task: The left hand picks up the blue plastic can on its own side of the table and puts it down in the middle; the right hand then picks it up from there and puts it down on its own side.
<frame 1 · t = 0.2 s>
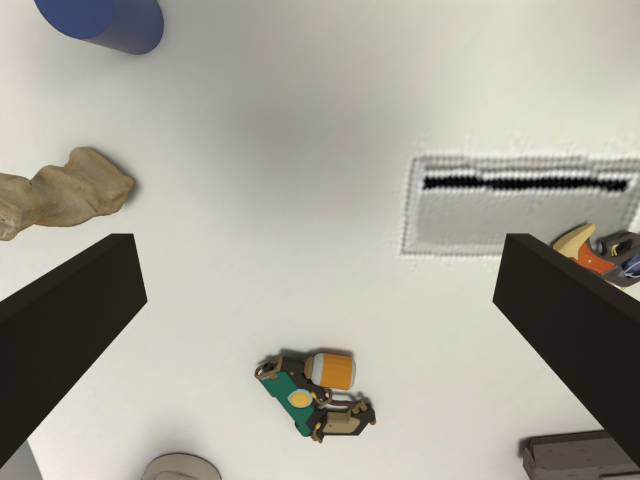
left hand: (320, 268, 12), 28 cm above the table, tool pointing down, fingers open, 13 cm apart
bust sculpture: (178, 462, 56), on the table
toy: (591, 472, 57), on the table
toy gun: (633, 234, 41), on the table
sculpture: (108, 177, 39), on the table
can: (131, 18, 33), on the table
spray gun: (318, 388, 50), on the table
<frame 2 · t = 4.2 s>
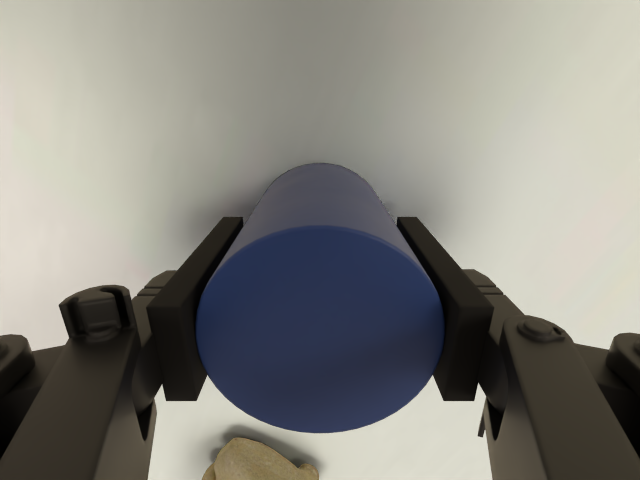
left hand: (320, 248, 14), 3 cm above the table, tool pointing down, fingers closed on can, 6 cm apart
sculpture: (268, 460, 22), on the table
can: (320, 227, 16), on the table, touching left hand
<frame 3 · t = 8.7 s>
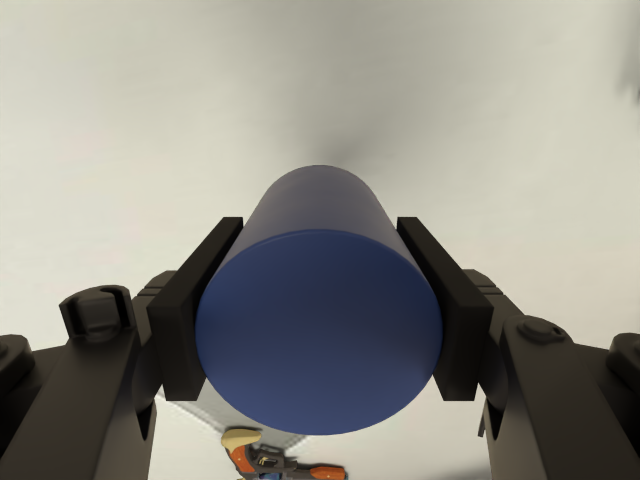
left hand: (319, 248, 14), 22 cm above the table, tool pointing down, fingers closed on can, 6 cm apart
toy gun: (287, 455, 50), on the table
can: (319, 229, 16), point 19 cm above the table, touching left hand
when the left hand's fingers open (4 cm above the table, at t = 13.5 s): can drops 2 cm, on the table.
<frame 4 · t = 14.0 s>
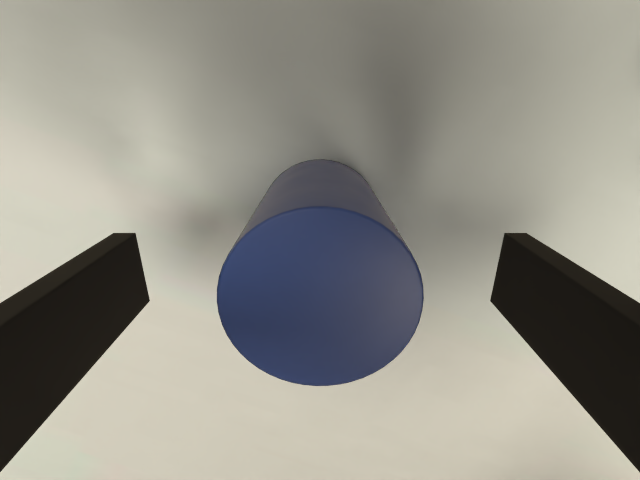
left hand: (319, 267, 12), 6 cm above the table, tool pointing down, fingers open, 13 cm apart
can: (320, 218, 18), on the table
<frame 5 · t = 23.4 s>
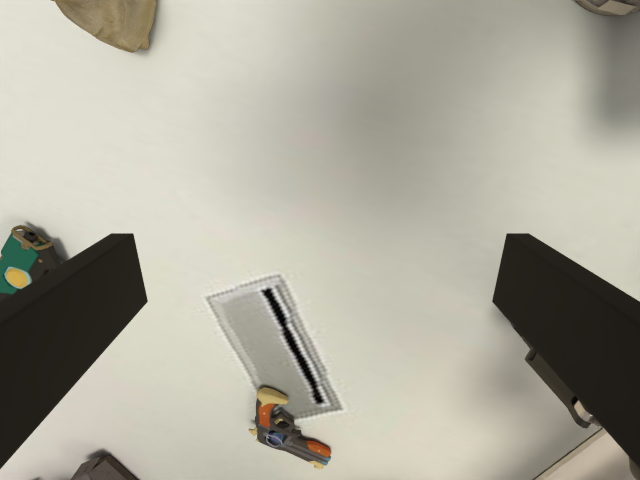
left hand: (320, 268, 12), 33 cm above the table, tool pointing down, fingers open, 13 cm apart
toy gun: (294, 424, 60), on the table
sculpture: (138, 17, 37), on the table
spray gun: (39, 285, 50), on the table
tablet stand: (590, 479, 65), on the table
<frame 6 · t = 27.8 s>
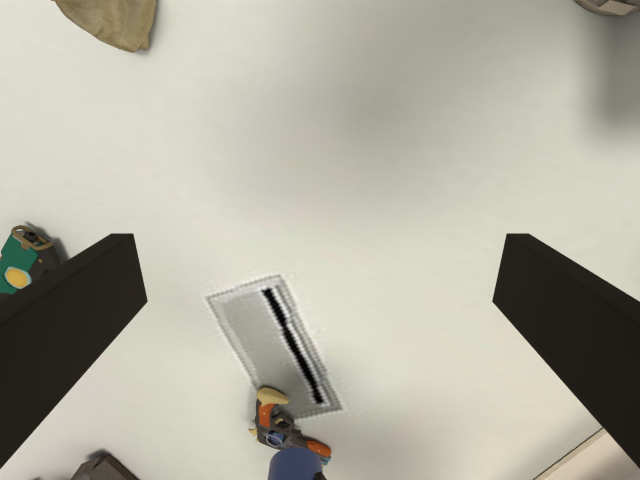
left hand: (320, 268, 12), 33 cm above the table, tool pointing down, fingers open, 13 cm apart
toy gun: (294, 424, 60), on the table
sculpture: (138, 17, 37), on the table
can: (296, 465, 40), point 16 cm above the table, touching right hand
spray gun: (39, 285, 50), on the table
tablet stand: (590, 479, 65), on the table
when the right hand's fingers open (4 cm above the table, at t = 32.5 s): can drops 2 cm, on the table.
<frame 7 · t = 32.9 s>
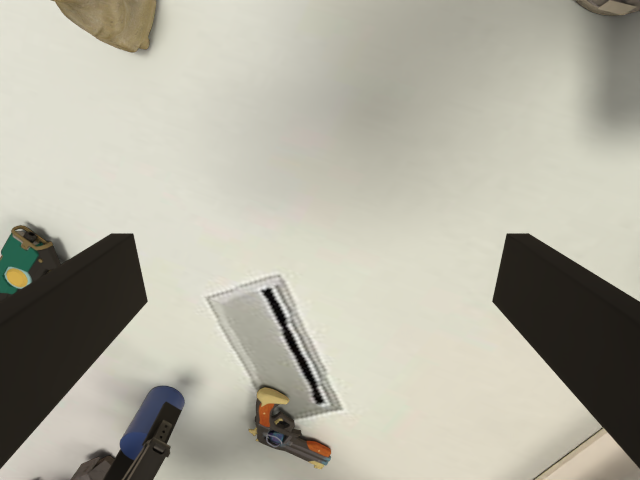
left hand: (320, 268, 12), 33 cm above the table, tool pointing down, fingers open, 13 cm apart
toy gun: (294, 424, 60), on the table
sculpture: (138, 17, 37), on the table
can: (166, 400, 58), on the table
spray gun: (39, 285, 50), on the table
tablet stand: (590, 479, 65), on the table
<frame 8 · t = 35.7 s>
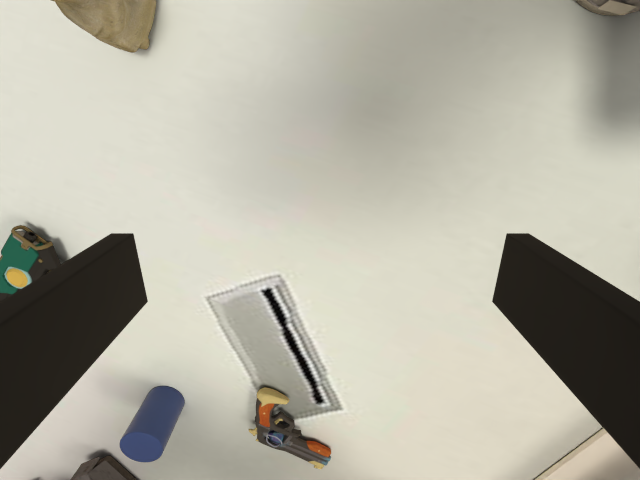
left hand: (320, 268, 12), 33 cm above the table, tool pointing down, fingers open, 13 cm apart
toy gun: (294, 424, 60), on the table
sculpture: (138, 17, 37), on the table
can: (166, 400, 58), on the table
spray gun: (39, 285, 50), on the table
tablet stand: (590, 479, 65), on the table
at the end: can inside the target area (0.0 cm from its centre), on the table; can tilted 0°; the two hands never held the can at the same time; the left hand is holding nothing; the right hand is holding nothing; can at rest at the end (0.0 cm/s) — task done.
